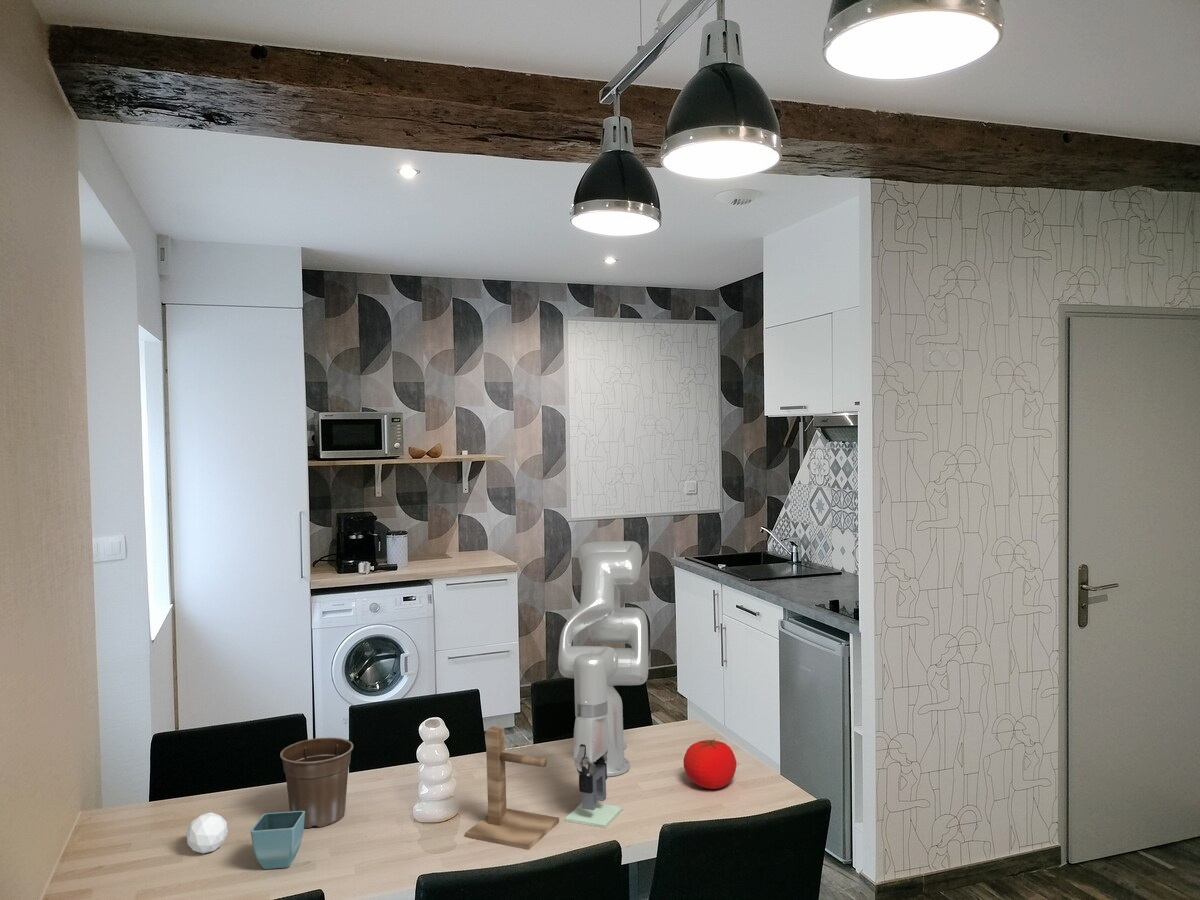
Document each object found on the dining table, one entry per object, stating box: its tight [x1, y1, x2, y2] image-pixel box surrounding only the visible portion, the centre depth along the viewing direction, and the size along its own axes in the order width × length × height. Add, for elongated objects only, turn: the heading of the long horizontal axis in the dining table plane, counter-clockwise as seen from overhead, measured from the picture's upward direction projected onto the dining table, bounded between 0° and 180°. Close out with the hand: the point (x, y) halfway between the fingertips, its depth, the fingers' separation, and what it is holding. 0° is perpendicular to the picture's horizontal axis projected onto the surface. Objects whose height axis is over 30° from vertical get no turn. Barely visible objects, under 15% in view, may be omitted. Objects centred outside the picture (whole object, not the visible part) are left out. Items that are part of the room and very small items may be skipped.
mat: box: [564, 802, 624, 829], centre depth 192 cm, size 10×10×1 cm
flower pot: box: [250, 811, 305, 870], centre depth 174 cm, size 9×9×9 cm
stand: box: [464, 725, 560, 850], centre depth 186 cm, size 14×16×22 cm
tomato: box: [683, 738, 738, 790], centre depth 208 cm, size 12×13×11 cm
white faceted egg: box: [186, 812, 229, 854], centre depth 181 cm, size 8×8×12 cm
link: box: [580, 764, 607, 810], centre depth 192 cm, size 7×3×8 cm, turn 156°
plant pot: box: [279, 737, 354, 829], centre depth 195 cm, size 16×16×16 cm
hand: (593, 785), depth 192 cm, fingers closed on link, 7 cm apart
